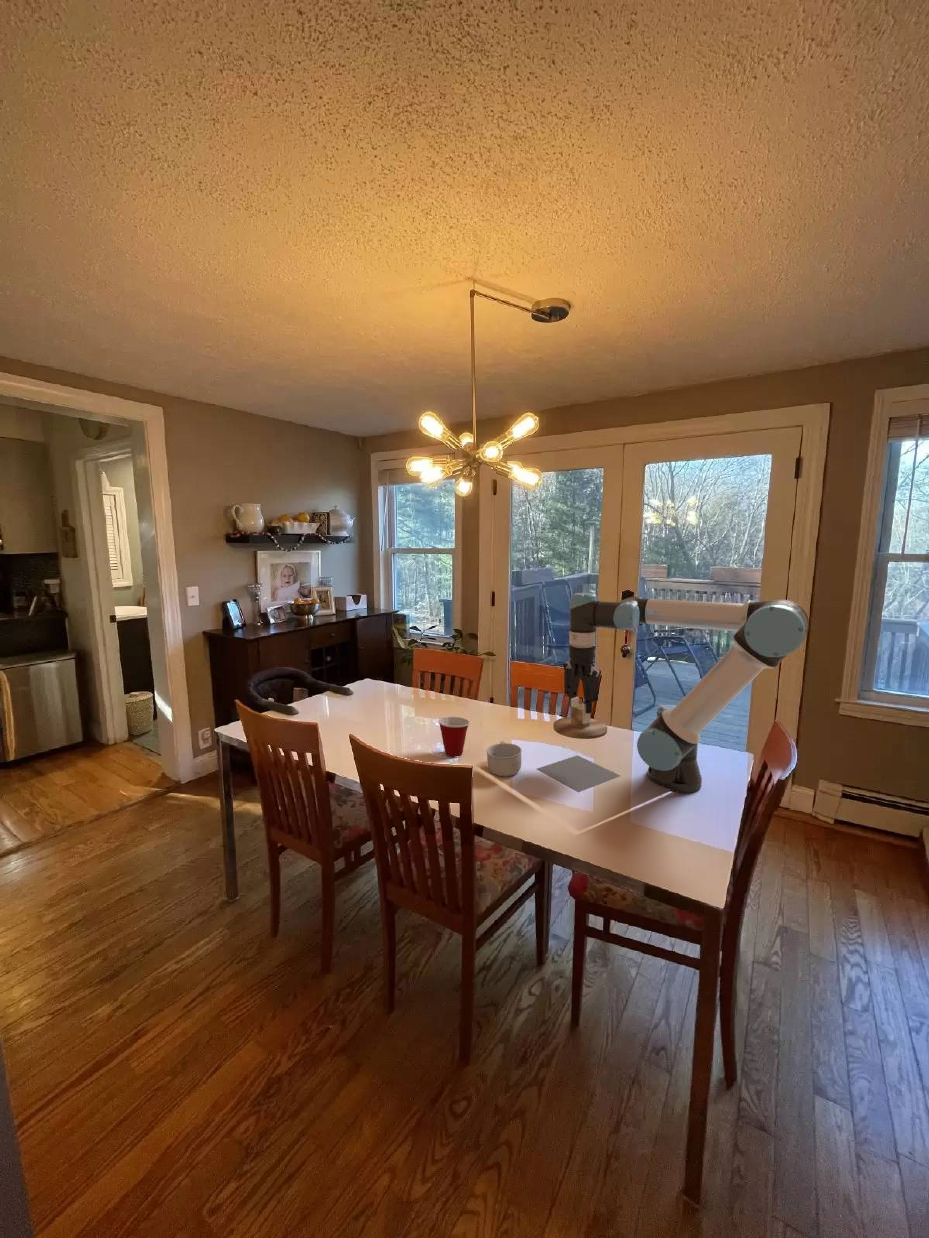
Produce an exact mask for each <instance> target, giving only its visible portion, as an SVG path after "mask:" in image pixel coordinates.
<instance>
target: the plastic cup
mask: <svg viewBox="0 0 929 1238" xmlns="http://www.w3.org/2000/svg"><path fill="white" fill-rule="evenodd" d="M437 723H438V724H439V728H440V729H439V730H440V732H441V739H442V743H443V744H442V745H443V747H444V748H443V749H444V753H445V756H447V757H448V756H451V757H450V758H456V757H455V756H459V757H461V756H462V755H463V752H464V746H465V742H466V737H467V736H466V735H467V732H468V728H469V725H470V724H471V721H470V720H469V719H467V718H466V717H465V718H464V717H460V716H445V717H441V718H439V719H438V720H437Z"/></svg>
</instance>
